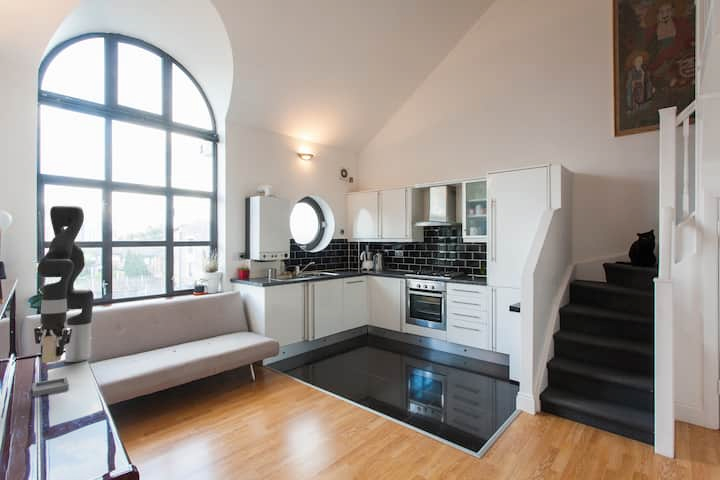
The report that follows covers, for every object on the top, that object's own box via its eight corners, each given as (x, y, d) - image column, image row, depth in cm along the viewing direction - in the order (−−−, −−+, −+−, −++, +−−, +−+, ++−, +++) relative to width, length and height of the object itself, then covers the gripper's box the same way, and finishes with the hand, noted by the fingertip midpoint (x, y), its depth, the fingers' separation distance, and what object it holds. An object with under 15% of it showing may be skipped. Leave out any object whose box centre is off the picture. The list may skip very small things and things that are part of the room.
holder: (32, 388, 135) (32, 383, 135) (66, 382, 142) (66, 377, 142) (32, 396, 128) (33, 391, 128) (68, 389, 135) (68, 384, 135)
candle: (38, 361, 134) (39, 335, 134) (55, 357, 139) (56, 332, 139) (47, 363, 132) (48, 336, 132) (64, 359, 137) (65, 333, 137)
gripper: (79, 310, 139) (77, 353, 139) (46, 308, 140) (44, 351, 140) (61, 313, 132) (59, 359, 131) (27, 311, 133) (24, 357, 133)
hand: (51, 355), depth 136 cm, fingers closed on candle, 5 cm apart
